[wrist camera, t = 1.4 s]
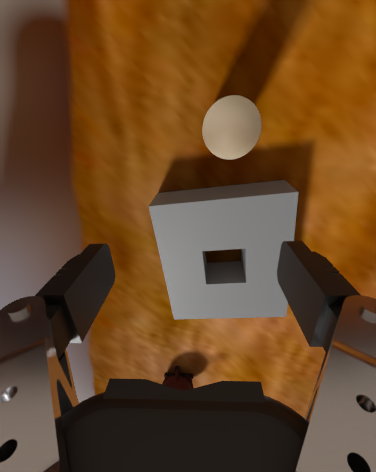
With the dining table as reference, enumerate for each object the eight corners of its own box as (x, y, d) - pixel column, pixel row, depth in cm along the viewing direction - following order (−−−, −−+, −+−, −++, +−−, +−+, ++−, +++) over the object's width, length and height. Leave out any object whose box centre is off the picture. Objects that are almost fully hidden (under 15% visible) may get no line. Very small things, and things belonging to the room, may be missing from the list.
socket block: (157, 192, 29) (148, 206, 25) (284, 179, 27) (298, 191, 23) (178, 295, 38) (174, 319, 33) (276, 292, 35) (286, 316, 31)
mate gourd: (160, 364, 47) (141, 459, 34) (197, 365, 46) (192, 464, 33) (165, 384, 51) (149, 477, 38) (199, 386, 50) (195, 482, 37)
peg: (202, 106, 24) (197, 99, 15) (241, 100, 24) (263, 88, 14) (206, 146, 26) (204, 164, 17) (242, 142, 26) (262, 157, 16)
